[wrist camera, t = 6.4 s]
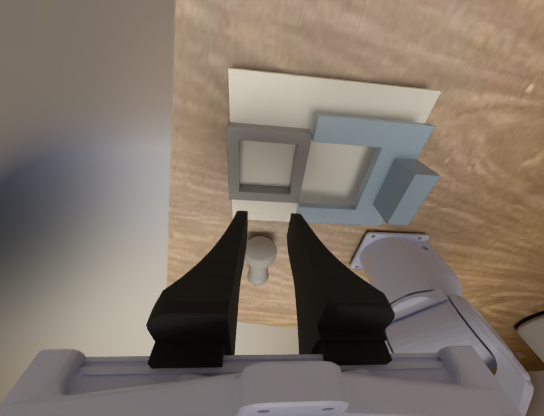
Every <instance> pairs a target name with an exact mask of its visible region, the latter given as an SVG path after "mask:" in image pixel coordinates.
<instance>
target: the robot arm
mask: <svg viewBox="0 0 544 416" xmlns="http://www.w3.org/2000/svg"><path fill="white" fill-rule="evenodd" d="M247 225H248V211H237V212H236V214H235V216H234V218H233V220H232V222H231V224H230V225H229V227H228V229H227V230H226V232H225V233H224V235H223V236H222V237H221V239H220V240H219V241H218V242H217V244H216V245H215V246H214V247H213V248H212V250H211V251H210V252H209V253H208V254H207V255H206V256H205V257H204V258H203V259H202V260H201V261H200V262H199V263H198V264H197V265H196V266H195V267H193V268H192V269H191V270H190V271H189V272H187V273H186V274H185V275H184V276H183V277H181V278H180V279H179V280H177V281H176V282H175V283H173V284H172V285H170V286H169V287H168V288H166V289H165V290H163V292H162V293H161V295H160V297H159V299H158V300H157V302H156V303H155V305H154V308H153V310H152V312H151V315H150V317H149V320H148V322H147V325H146V326H147V329H148V331H149V332H150V334H151V336H152V337H153V339H154V340H155V344H154V347H153V350H152V353H151V355H150V356H137V357H136V356H134V357H133V356H132V357H85V355H84V354H83V353H82V352H80V351H78V350H73V349H72V350H71V349H48V350H47V349H44V350H41V351H40V352H39V353H38V354H37V356H36V357H35V358H34V360H33V361H32V362H31V364H30V365H29V366H28V368H27V369H26V370H25V372H24V373H23V374H22V376H21V377H20V378H19V380H18V381H17V383H16V384H15V385H14V386H13V388H12V389H11V390H10V392H9V393H8V394H7V396H6V397H5V399H4V400H3V401H2V403H1V404H0V416H525V415H526V412H527V409H528V406H529V404H530V401H531V398H532V395H533V390H534V388H533V386H532V383H531V382H530V376H529V374H528V373H527V371H526V370H525V369H524V368H523V367H522V365H521V364H520V363H519V362H518V361H517V359H516V358H515V357H514V355H513V353H512V352H511V350H510V349H509V348H508V346H507V345H506V344H505V343H504V341H503V340H502V339H501V338H500V336H499V335H498V334H497V333H496V332H495V330H494V329H493V328H492V327H491V326H490V325H489V323H488V322H487V321H486V320H485V319H484V318H483V316H482V315H481V314H480V313H479V312H478V311H477V310H476V309H475V308H474V306H473V305H472V304H471V303H470V302H469V301H468V300H467V299H466V298H465V297H462V288H461V285H460V282H459V279H458V278H457V276H456V274H455V273H454V272H453V271H452V270H451V268H450V267H449V266H448V265H447V264H446V263H445V262H444V260H443V259H442V258H441V257H440V256H439V255H438V254H437V252H436V251H435V250H434V249H433V248H432V247H431V246H430V244H429V243H428V242H427V240H428V239H429V238H430V237H429V235H427V234H408V233H385V232H368V233H366V235H365V237H364V239H363V241H362V243H361V245H360V247H359V249H358V250H357V252H356V254H355V256H354V258H353V260H352V262H351V264H350V267H351V268H352V269H364V271H365V273H366V275H367V277H368V279H369V281H370V284H371V285H370V284H369V283H367V282H366V281H364V280H363V279H362V278H360V277H359V276H357V275H356V274H355V273H353V272H352V271H351V270H350V269H348V268H347V267H346V266H345V265H344V264H342V263H341V262H340V261H339V260H338V259H337V258H336V257H335V256H334V255H333V254H332V253H331V252H330V251H329V250H328V249H327V248H326V247H325V246H324V244H323V243H322V242H321V241H320V240H319V239H318V237H317V236H316V235H315V233H314V232H313V231H312V229H311V228H310V227H309V225H308V224H307V222H306V221H305V219H304V218H303V216H302V215H301V214H298V213H291V217H290V222H289V228H288V233H287V245H288V254H289V259H290V264H291V269H292V274H293V280H294V286H295V296H296V308H297V322H298V337H299V338H298V339H299V355H234V354H235V340H236V327H237V314H238V302H239V290H240V281H241V275H242V270H243V264H244V259H245V253H246V245H247ZM372 235H373V236H372ZM496 367H497V372H496V374H494V375H493V374H492V373H491V371H490V370H489V369H491V368H496Z"/></svg>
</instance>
